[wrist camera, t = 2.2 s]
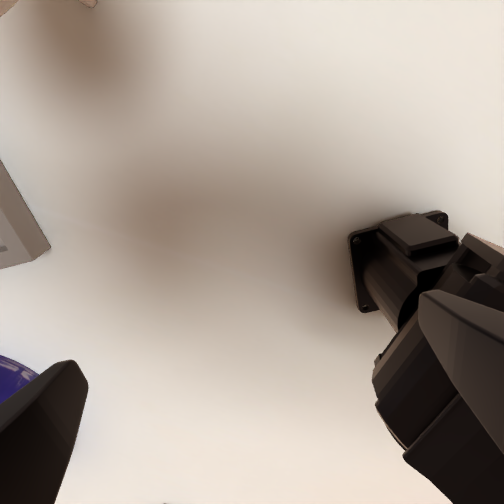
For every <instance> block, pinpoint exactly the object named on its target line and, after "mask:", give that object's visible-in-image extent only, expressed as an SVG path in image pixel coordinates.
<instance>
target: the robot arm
mask: <svg viewBox="0 0 504 504" xmlns="http://www.w3.org/2000/svg"><path fill="white" fill-rule="evenodd" d="M440 216H441V219H440V220H439V221H437V218H438V217H440ZM356 237H359V240H358V241H356V242H353V240H354V239H355V238H356ZM461 243H462V244H461ZM461 243H460V242H459V237H458V236H457V235H455V234H453V233H452V232H450V231H448V215H447V214H446V213H444V212H442V211H435V212H431V213H427V214H423V215H420V214H419V213H416V214H412V215H408V216H404V217H400V218H396V219H392V220H388V221H384V222H381V223H380V224H379V225H378V226H376V227H372V228H368V229H364V230H360V231H356V232H353V233H351V234H350V235H349V237H348V246H349V253H350V260H351V267H352V274H353V281H354V288H355V295H356V302H357V307H358V309H359V311H360V312H362V313H368V312H372V311H376V310H381V312H382V313H383V314H384V316H385V317H386V319H387V320H388V321H389V323H390V324H391V326H392V327H393V328H394V330H395V331H396V333H397V334H396V335H395V336H394V338H393V339H392V340H391V342H390V343H389V345H388V346H387V347H386V349H385V350H384V351H383V353H382V354H379V355H378V356H377V358H376V359H375V361H374V363H375V368H374V369H373V375H372V383H373V386H374V389H375V392H376V396H377V398H378V400H377V401H376V403H375V406H376V409H377V412H378V413H379V415H380V417H381V418H382V420H383V422H384V423H385V425H386V427H387V429H388V430H389V432H390V433H391V435H392V436H393V438H394V439H395V440H396V441H397V442H398V444H399V445H400V446H401V447H402V448H403V449H404V450H405V452H404V453H403V455H402V456H403V459H404V460H405V462H406V463H408V464H409V465H410V466H411V467H413V468H414V469H415V470H417V471H418V472H419V473H421V474H422V475H423V476H425V477H426V478H427V479H429V480H430V481H431V482H432V483H433V484H434V485H435V486H436V487H437V488H438V489H439V490H440V491H441V492H442V493H443V494H444V495H445V496H446V497H447V498H448V499H449V500H450V501H451V502H452V503H453V504H504V248H502V247H500V246H498V245H495V244H493V243H491V242H488V241H486V240H484V239H481V238H479V237H477V236H474V235H472V234H470V233H467V234H466V235H465V236H464V238H463V239H462V240H461ZM363 305H366V306H365V307H363ZM87 394H88V382H87V380H86V378H85V376H84V374H83V373H82V371H81V369H80V368H79V366H78V364H77V363H76V362H75V361H74V360H66V361H61V362H57V363H55V364H53V365H52V366H51V367H49V368H48V369H47V370H45V371H44V372H43V373H41V374H40V375H39V376H37V377H36V378H35V379H33V380H32V381H31V382H29V383H28V384H27V385H25V386H24V387H22V388H21V389H20V390H18V391H17V392H16V393H14V394H13V395H12V396H10V397H9V398H8V399H6V400H5V401H4V402H2V403H1V404H0V504H54V503H55V500H56V498H57V495H58V492H59V489H60V486H61V484H62V481H63V478H64V475H65V472H66V469H67V467H68V464H69V461H70V458H71V455H72V452H73V448H74V445H75V441H76V437H77V433H78V429H79V425H80V421H81V418H82V414H83V410H84V406H85V402H86V398H87Z"/></svg>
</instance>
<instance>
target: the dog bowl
mask: <svg viewBox="0 0 504 504" xmlns="http://www.w3.org/2000/svg"><path fill="white" fill-rule="evenodd" d="M37 376H39V374H37V373H36V372H34V371H33V370H31V369H30V368H28V367H26V366H24V365H22V364H20V363H18V362H16V361H14V360H12V359H9V358H7V357H4V356H1V355H0V404H1V403H2V402H4V401H5V400H6V399H8V398H9V397H10V396H12V395H13V394H14V393H16V392H17V391H18V390H20V389H21V388H22V387H24V386H25V385H27V384H28V383H29V382H31V381H32V380H33V379H35V378H36V377H37Z"/></svg>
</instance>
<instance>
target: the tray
mask: <svg viewBox="0 0 504 504" xmlns="http://www.w3.org/2000/svg"><path fill="white" fill-rule="evenodd" d="M49 248H51V247H50V245H49V243H48V241H47V240H46V238H45V236H44V235H43V233H42V231H41V229H40V228H39V226H38V224H37V222H36V221H35V219H34V217H33V216H32V214H31V212H30V210H29V209H28V207H27V205H26V204H25V202H24V200H23V198H22V197H21V195H20V193H19V192H18V190H17V188H16V186H15V185H14V183H13V181H12V180H11V178H10V176H9V174H8V173H7V171H6V169H5V168H4V166H3V164H2V162H1V161H0V269H3V268H7V267H11V266H15V265H18V264H22V263H26V262H30V261H33V260H35V259H36V258H37V257H39V256H40V255H41V254H43V253H44V252H45V251H47V250H48V249H49Z"/></svg>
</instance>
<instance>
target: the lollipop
mask: <svg viewBox="0 0 504 504" xmlns="http://www.w3.org/2000/svg"><path fill="white" fill-rule="evenodd" d="M17 1H18V0H0V16H2V15H3V14H5V13H6V12H7V11H8V10H9V9H10V8H12V7H13V6H14V5H15V3H16V2H17ZM79 1H80V2H82V3H83V4H85V5H86V6H88V7H94V6H95V5H96V3H97V0H79Z"/></svg>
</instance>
